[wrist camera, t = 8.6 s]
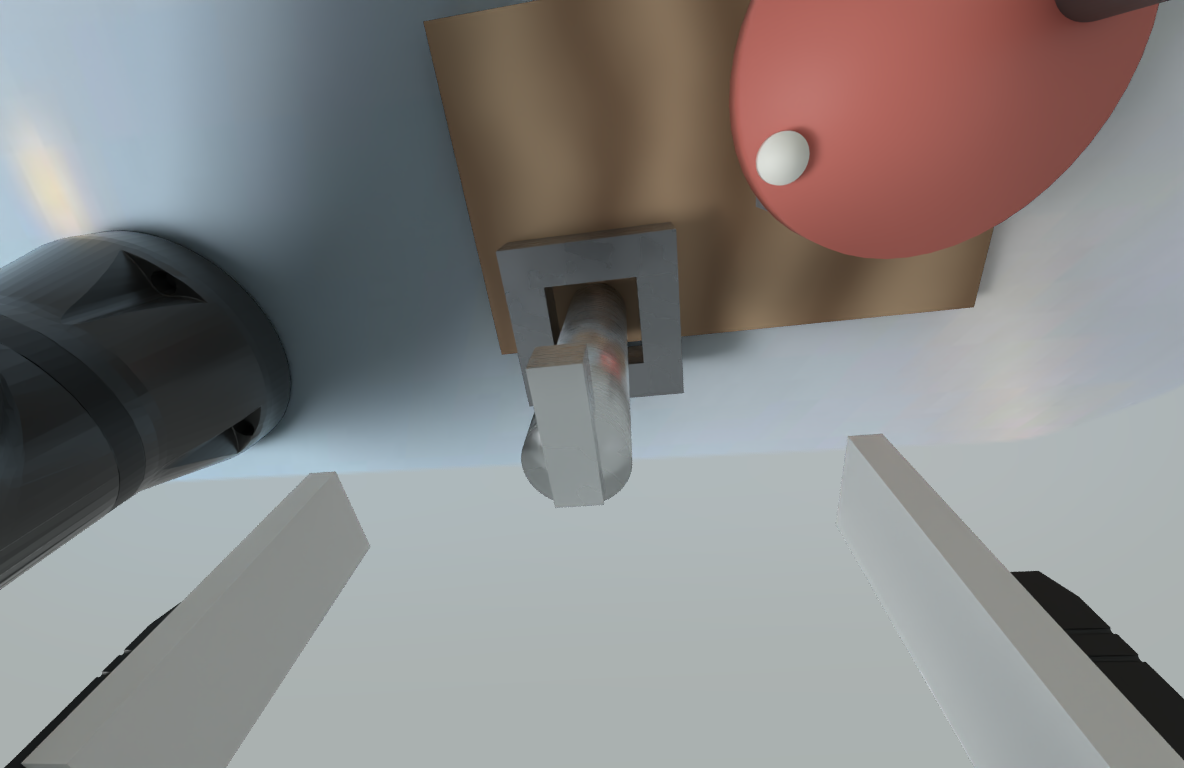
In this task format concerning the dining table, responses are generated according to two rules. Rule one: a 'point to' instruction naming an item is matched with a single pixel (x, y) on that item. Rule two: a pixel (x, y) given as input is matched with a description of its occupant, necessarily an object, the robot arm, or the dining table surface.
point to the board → (647, 165)
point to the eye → (595, 259)
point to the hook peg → (581, 404)
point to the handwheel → (921, 110)
